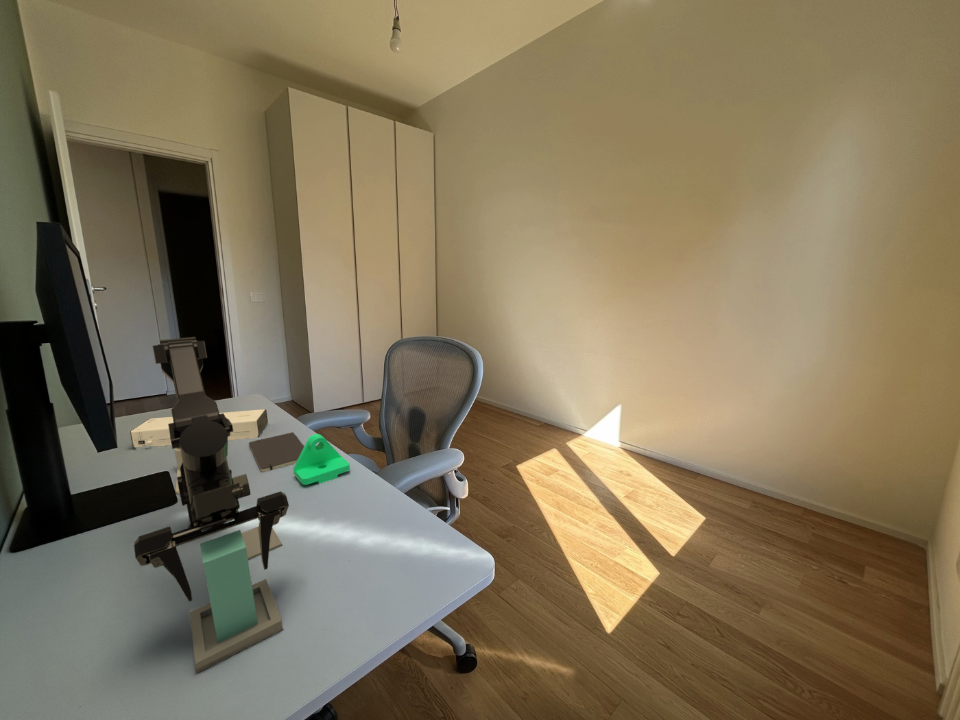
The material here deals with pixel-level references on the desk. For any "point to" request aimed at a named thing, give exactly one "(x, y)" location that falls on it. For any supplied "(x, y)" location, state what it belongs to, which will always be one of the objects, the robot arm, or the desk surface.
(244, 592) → the tall green square pillar
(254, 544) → the lid
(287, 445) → the notebook
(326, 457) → the green mounting bracket
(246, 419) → the laminator
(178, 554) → the robot arm
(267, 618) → the shallow beige square tray
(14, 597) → the desk surface
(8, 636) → the desk surface
